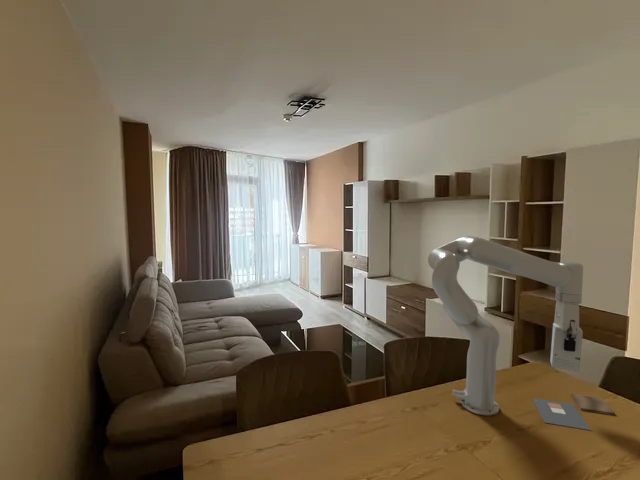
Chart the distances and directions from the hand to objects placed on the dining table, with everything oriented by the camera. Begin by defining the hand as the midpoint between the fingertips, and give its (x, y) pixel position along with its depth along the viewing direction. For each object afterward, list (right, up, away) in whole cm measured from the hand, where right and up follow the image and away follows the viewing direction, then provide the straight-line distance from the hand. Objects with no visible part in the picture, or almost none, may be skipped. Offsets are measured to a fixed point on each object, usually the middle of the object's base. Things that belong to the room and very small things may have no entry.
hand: (565, 346), depth 124 cm
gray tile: (-3, -23, -1) cm, 23 cm away
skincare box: (0, -8, +1) cm, 8 cm away
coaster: (+12, -23, +4) cm, 26 cm away
